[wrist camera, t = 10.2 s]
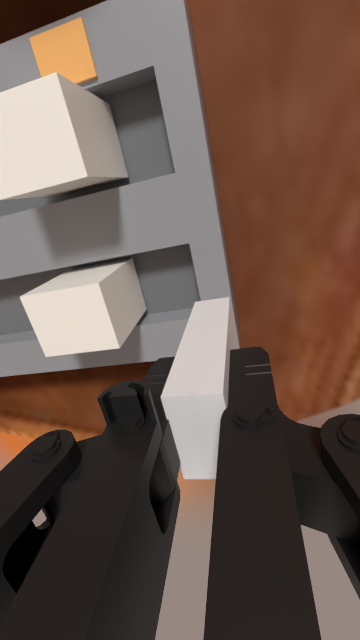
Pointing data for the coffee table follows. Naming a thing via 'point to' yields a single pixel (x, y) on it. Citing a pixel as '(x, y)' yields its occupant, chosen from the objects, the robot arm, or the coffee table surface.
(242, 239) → the coffee table surface
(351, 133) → the coffee table surface
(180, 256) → the switch bank
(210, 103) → the coffee table surface
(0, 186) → the tab
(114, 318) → the tab
